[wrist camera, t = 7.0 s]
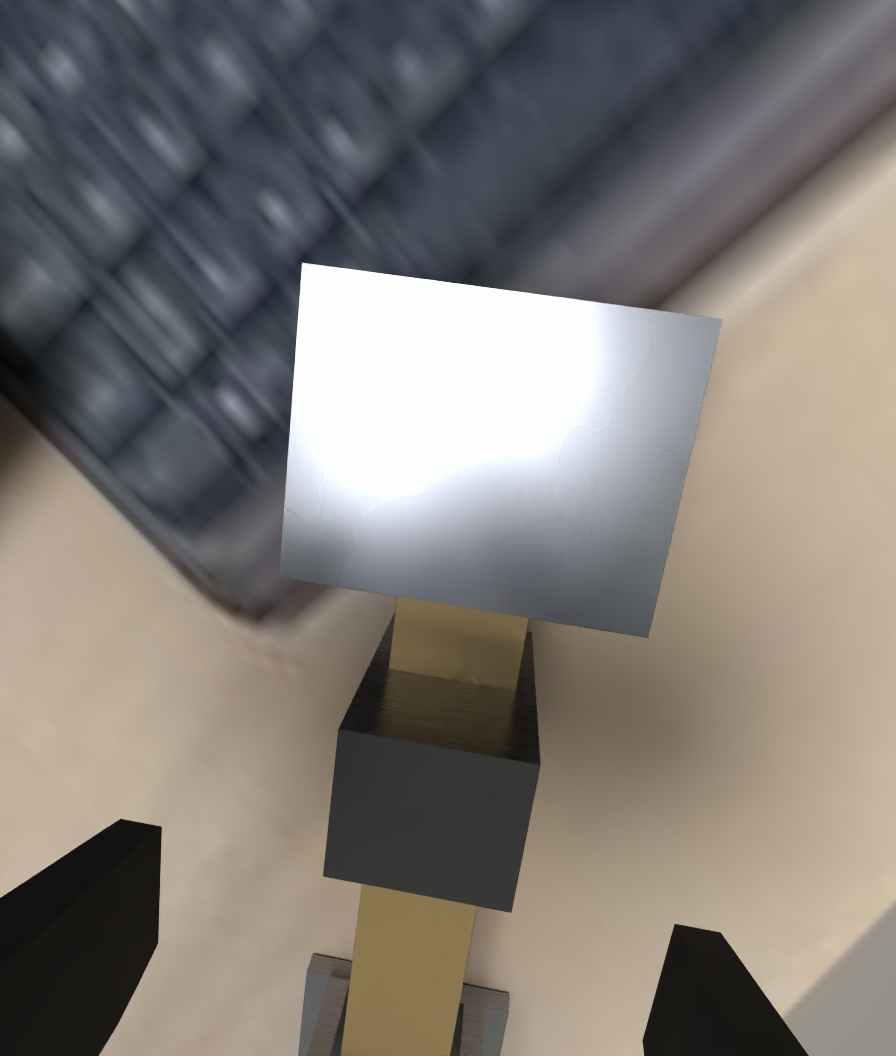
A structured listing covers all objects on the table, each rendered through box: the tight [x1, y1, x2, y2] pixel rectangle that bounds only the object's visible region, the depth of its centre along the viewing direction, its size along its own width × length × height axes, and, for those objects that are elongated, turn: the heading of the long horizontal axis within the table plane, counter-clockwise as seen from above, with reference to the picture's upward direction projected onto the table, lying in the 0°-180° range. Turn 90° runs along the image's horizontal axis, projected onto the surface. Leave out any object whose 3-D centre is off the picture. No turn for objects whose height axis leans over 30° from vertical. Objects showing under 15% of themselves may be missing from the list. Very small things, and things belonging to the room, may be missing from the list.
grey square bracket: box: [279, 263, 722, 638], centre depth 13 cm, size 6×7×5 cm
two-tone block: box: [323, 597, 540, 1056], centre depth 14 cm, size 17×3×6 cm, turn 172°
